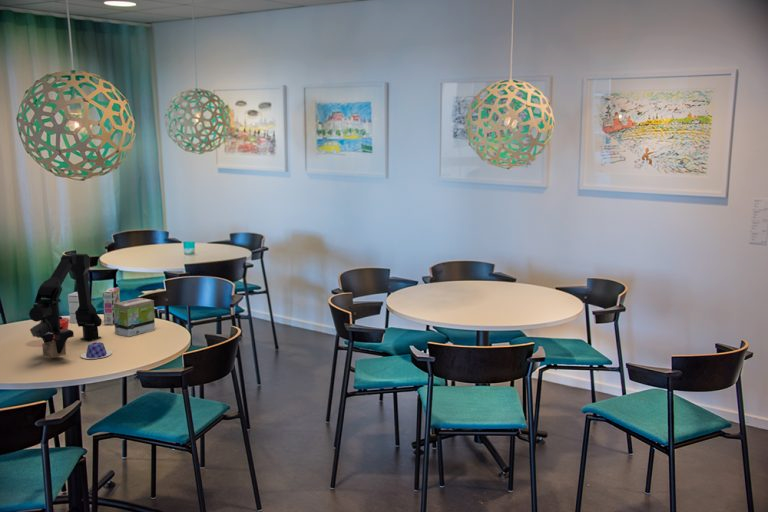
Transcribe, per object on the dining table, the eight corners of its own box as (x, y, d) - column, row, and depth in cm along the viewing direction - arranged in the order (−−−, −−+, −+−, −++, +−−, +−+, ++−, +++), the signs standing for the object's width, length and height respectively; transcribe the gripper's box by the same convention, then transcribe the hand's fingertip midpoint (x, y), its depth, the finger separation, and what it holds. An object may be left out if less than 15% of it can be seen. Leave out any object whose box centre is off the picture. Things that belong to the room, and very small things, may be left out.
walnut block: (43, 355, 277) (42, 343, 276) (56, 351, 282) (55, 339, 281) (52, 358, 274) (51, 345, 273) (65, 354, 279) (64, 341, 279)
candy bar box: (114, 325, 329) (112, 292, 327) (104, 325, 329) (102, 292, 326) (121, 319, 340) (119, 287, 338) (111, 319, 340) (109, 287, 337)
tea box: (128, 337, 309) (127, 305, 307) (114, 334, 315) (112, 303, 312) (155, 330, 322) (154, 299, 320) (141, 326, 327) (140, 296, 325)
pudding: (85, 352, 289) (84, 340, 288) (114, 350, 291) (114, 339, 290) (77, 361, 277) (76, 348, 276) (108, 359, 279) (107, 347, 278)
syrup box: (80, 323, 332) (78, 294, 329) (69, 323, 333) (67, 294, 331) (87, 320, 337) (85, 292, 335) (77, 320, 339) (75, 291, 336)
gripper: (18, 316, 273) (21, 353, 276) (47, 322, 264) (50, 361, 267) (44, 310, 283) (47, 346, 285) (73, 316, 274) (75, 353, 276)
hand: (54, 352), depth 278 cm, fingers closed on walnut block, 6 cm apart
